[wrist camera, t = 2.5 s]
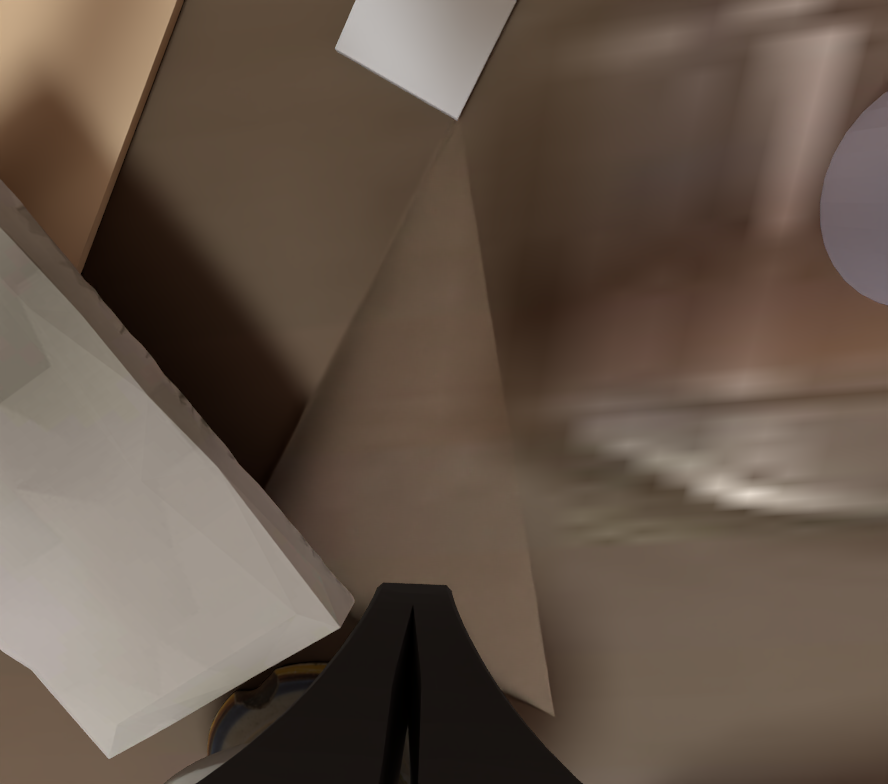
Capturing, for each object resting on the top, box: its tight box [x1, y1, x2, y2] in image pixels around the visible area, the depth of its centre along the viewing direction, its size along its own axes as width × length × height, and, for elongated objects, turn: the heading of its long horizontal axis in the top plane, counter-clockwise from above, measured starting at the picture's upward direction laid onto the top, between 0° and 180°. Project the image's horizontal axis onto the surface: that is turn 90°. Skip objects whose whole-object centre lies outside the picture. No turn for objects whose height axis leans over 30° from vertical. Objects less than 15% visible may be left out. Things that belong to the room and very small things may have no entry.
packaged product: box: [0, 179, 355, 759], centre depth 20 cm, size 18×5×10 cm
